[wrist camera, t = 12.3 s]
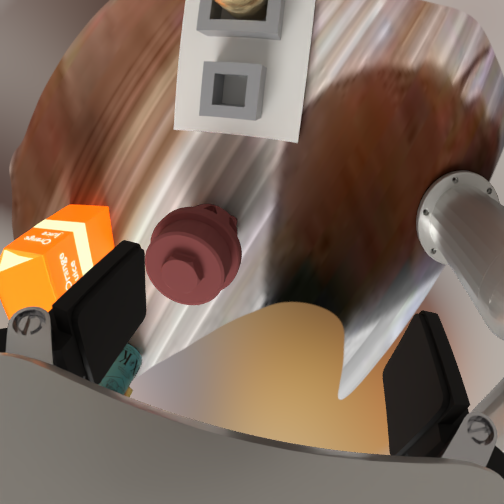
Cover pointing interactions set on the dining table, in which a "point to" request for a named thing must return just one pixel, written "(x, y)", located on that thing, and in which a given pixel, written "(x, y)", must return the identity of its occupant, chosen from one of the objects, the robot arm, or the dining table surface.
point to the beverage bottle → (122, 370)
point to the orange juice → (53, 256)
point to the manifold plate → (244, 70)
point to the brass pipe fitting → (245, 9)
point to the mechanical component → (194, 254)
